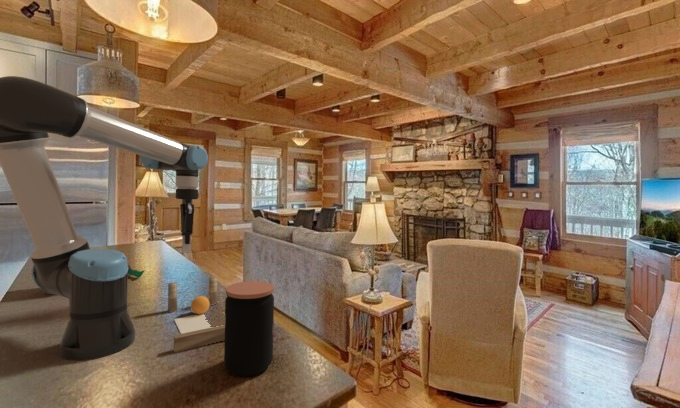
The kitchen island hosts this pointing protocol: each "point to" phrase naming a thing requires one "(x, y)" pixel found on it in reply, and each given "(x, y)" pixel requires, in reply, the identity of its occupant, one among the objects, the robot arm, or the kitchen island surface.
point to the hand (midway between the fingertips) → (186, 252)
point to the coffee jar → (248, 327)
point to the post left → (172, 297)
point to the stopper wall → (198, 338)
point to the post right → (212, 290)
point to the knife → (134, 272)
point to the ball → (200, 305)
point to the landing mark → (192, 323)
